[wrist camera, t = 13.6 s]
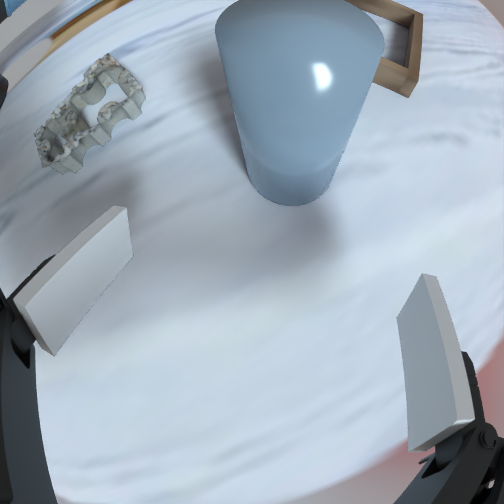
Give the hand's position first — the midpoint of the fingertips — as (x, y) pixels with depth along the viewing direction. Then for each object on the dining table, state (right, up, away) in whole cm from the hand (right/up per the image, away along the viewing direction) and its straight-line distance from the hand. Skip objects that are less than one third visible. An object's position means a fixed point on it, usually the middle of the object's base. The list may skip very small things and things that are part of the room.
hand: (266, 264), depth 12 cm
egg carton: (-15, +12, +10) cm, 22 cm away
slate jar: (+2, +6, +7) cm, 10 cm away
